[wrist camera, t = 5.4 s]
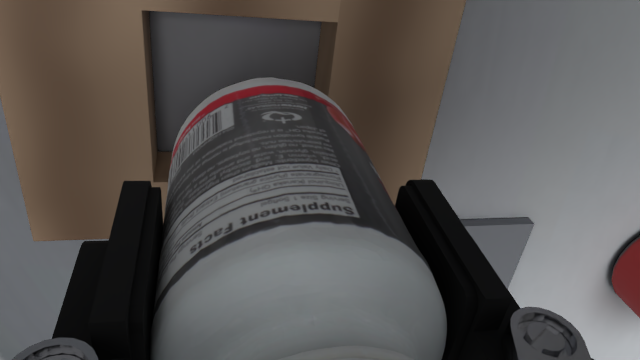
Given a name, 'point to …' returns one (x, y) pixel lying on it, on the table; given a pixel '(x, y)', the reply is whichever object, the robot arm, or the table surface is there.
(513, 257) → the charcoal mat
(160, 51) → the table surface
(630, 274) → the beer can
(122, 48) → the brown flat hollow frame
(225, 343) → the pill bottle
